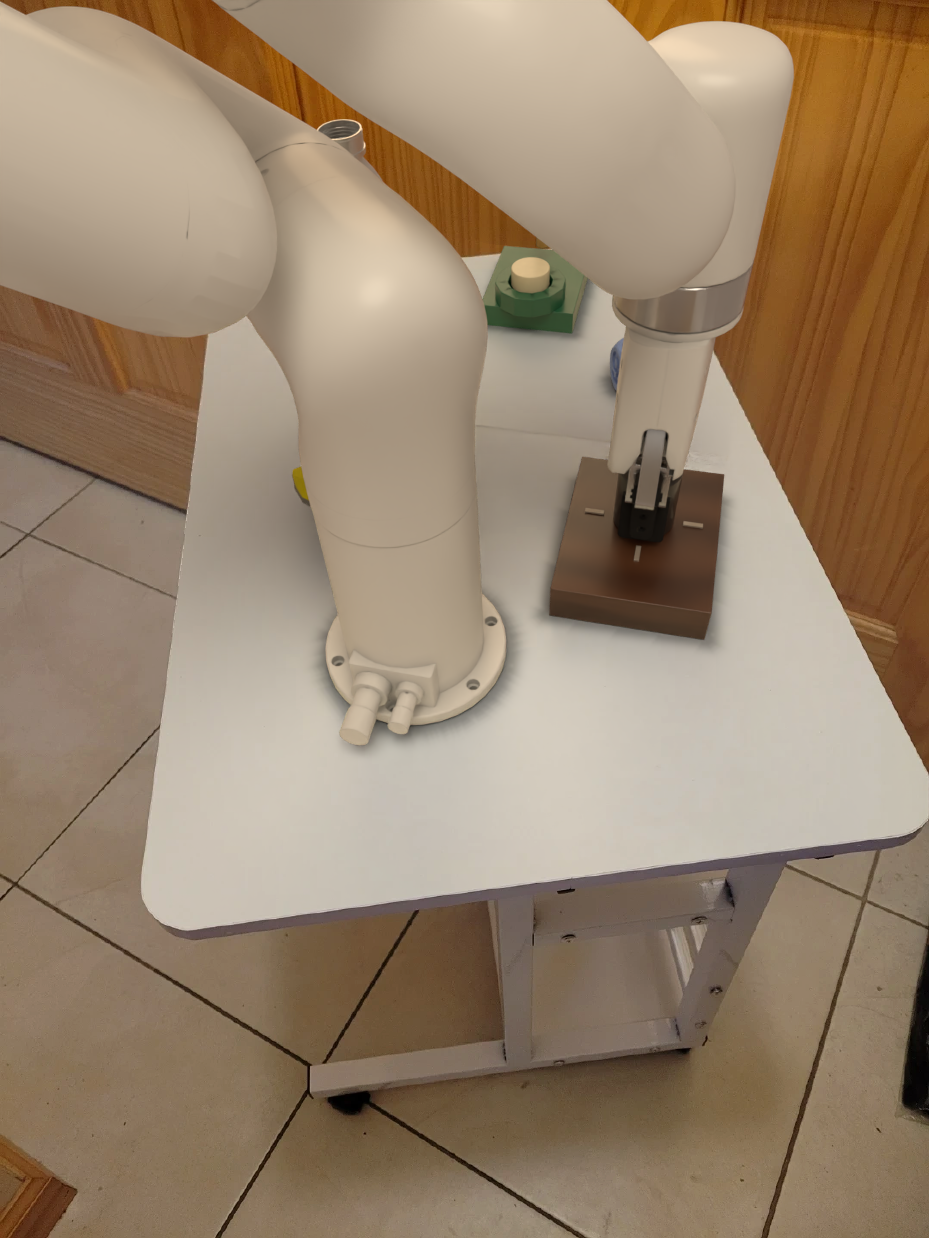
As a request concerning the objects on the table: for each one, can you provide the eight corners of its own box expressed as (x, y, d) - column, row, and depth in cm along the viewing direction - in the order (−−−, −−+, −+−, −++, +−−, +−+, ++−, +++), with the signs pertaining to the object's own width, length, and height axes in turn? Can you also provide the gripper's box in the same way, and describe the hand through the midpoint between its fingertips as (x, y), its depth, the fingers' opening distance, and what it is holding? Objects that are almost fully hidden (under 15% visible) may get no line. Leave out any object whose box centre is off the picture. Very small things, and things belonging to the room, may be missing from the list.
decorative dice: (663, 395, 79) (669, 357, 76) (619, 401, 79) (623, 363, 76) (650, 368, 82) (656, 330, 79) (607, 374, 82) (611, 336, 79)
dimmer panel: (704, 640, 62) (712, 611, 60) (548, 615, 64) (550, 587, 62) (717, 502, 71) (725, 472, 68) (579, 484, 73) (581, 454, 70)
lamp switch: (545, 296, 84) (546, 279, 82) (507, 293, 84) (507, 275, 83) (552, 275, 86) (553, 258, 84) (515, 272, 86) (515, 255, 85)
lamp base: (569, 341, 85) (572, 304, 82) (477, 332, 87) (476, 295, 84) (589, 273, 92) (592, 235, 89) (504, 265, 94) (503, 228, 91)
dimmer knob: (670, 544, 64) (681, 489, 60) (609, 535, 65) (615, 481, 61) (676, 501, 67) (686, 447, 63) (617, 494, 68) (623, 439, 63)
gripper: (632, 205, 57) (609, 431, 71) (592, 363, 47) (574, 590, 61) (754, 214, 55) (705, 443, 70) (740, 379, 45) (686, 607, 60)
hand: (644, 509), depth 65 cm, fingers closed on dimmer knob, 4 cm apart
